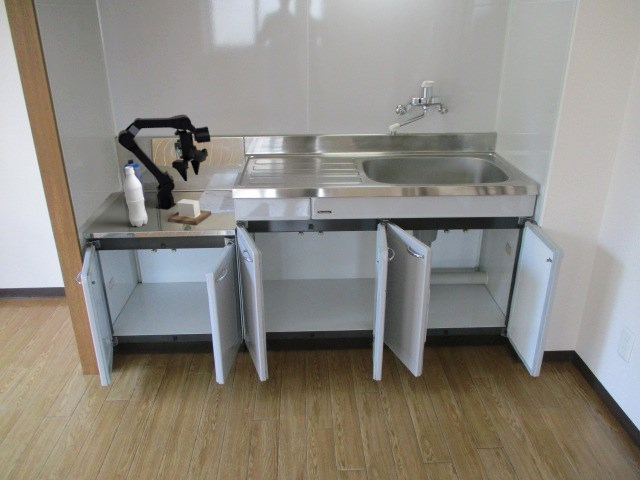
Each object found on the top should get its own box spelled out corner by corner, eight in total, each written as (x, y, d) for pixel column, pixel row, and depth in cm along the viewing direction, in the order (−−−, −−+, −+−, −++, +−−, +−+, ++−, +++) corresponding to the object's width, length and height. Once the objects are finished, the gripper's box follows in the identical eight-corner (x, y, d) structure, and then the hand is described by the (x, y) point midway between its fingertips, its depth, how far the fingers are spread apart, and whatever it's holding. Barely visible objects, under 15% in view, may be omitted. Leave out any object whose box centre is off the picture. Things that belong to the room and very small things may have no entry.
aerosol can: (145, 197, 241) (138, 156, 233) (147, 202, 235) (140, 161, 226) (128, 200, 239) (120, 159, 230) (130, 205, 232) (121, 163, 224)
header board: (168, 221, 214) (166, 210, 212) (183, 211, 224) (182, 200, 222) (197, 225, 210) (195, 214, 208) (211, 214, 220) (210, 203, 218)
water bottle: (134, 221, 215) (123, 164, 204) (151, 220, 215) (140, 164, 204) (128, 227, 209) (116, 170, 198) (145, 227, 208) (134, 169, 198)
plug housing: (179, 215, 216) (177, 202, 213) (184, 211, 219) (182, 198, 217) (195, 217, 213) (193, 204, 211) (200, 213, 217) (198, 200, 215)
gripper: (191, 150, 212) (196, 186, 218) (213, 140, 228) (217, 173, 234) (168, 149, 215) (174, 183, 222) (192, 138, 231) (196, 171, 238)
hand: (191, 177), depth 229 cm, fingers open, 9 cm apart
